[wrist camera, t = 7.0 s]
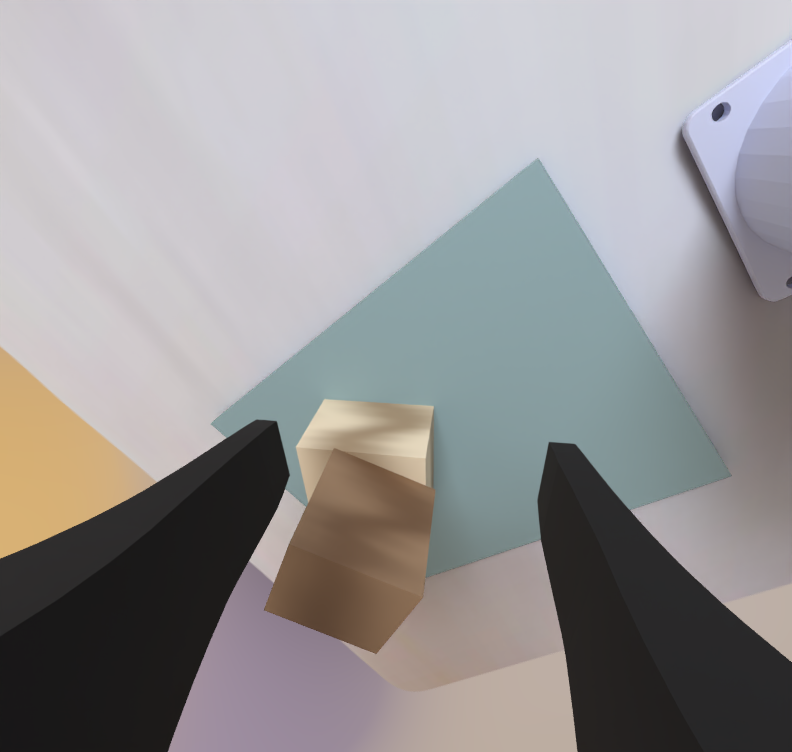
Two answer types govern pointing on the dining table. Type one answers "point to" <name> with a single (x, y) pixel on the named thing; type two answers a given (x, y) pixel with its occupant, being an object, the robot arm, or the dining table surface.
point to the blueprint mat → (500, 374)
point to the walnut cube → (356, 554)
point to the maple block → (370, 439)
